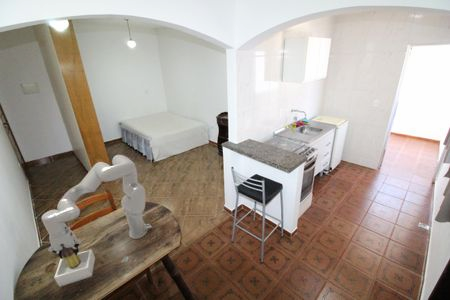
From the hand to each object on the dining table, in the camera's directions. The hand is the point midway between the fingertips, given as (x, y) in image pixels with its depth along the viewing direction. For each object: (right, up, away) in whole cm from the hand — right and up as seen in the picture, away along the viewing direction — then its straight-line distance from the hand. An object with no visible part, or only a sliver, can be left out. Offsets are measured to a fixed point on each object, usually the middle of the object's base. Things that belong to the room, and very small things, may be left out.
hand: (69, 254), depth 121 cm
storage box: (0, -13, +7) cm, 15 cm away
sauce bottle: (0, -8, +4) cm, 9 cm away
